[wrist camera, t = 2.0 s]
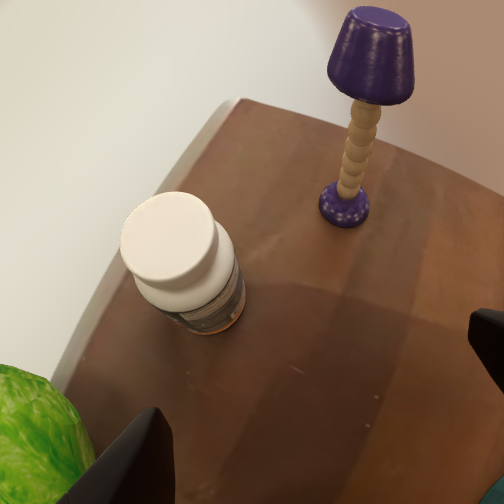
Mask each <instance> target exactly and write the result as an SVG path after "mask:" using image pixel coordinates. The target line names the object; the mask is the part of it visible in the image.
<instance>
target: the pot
mask: <svg viewBox="0 0 504 504" xmlns="http://www.w3.org/2000/svg"><path fill="white" fill-rule="evenodd" d="M479 504H504V476H503V477H501V478H500V479H499V480H498V481H497V482H496V483H495V484H494V485H493V486H492V487H491V489H490V490H489V491H488V492H487V493H486V494H485V496H484V497H483V498H482V500H481V501H480V502H479Z"/></svg>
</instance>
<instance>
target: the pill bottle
mask: <svg viewBox="0 0 504 504" xmlns="http://www.w3.org/2000/svg"><path fill="white" fill-rule="evenodd" d="M120 252H121V256H122V259H123V261H124V263H125V265H126V266H127V268H128V269H129V270H130V271H131V272H132V273H133V274H134V279H135V282H136V285H137V287H138V289H139V291H140V293H141V294H142V296H143V297H144V298H145V299H146V300H147V301H148V302H149V303H150V304H152V305H153V306H154V307H156V308H157V309H158V310H160V311H161V312H162V313H163V314H165V315H166V316H168V317H169V318H170V319H172V320H173V321H174V322H176V323H177V324H179V325H180V326H181V327H183V328H184V329H186V330H188V331H190V332H193V333H196V334H203V335H206V334H214V333H218V332H220V331H223V330H225V329H226V328H228V327H229V326H230V325H232V324H233V323H234V322H235V321H236V320H237V318H238V317H239V316H240V314H241V312H242V310H243V307H244V303H245V297H246V292H245V285H244V281H243V277H242V274H241V271H240V268H239V265H238V261H237V257H236V254H235V250H234V247H233V245H232V242H231V240H230V238H229V236H228V234H227V232H226V231H225V230H224V228H223V227H222V226H221V225H220V224H219V223H218V222H216V221H215V220H214V219H213V216H212V214H211V212H210V210H209V209H208V207H207V206H206V205H205V203H203V202H202V201H201V200H200V199H198V198H197V197H195V196H193V195H190V194H187V193H183V192H166V193H162V194H159V195H156V196H153V197H151V198H149V199H147V200H146V201H145V202H143V203H142V204H140V205H139V206H138V207H137V208H136V209H135V210H134V211H133V212H132V213H131V214H130V216H129V217H128V219H127V220H126V222H125V224H124V226H123V229H122V232H121V236H120Z"/></svg>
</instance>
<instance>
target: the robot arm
mask: <svg viewBox="0 0 504 504" xmlns="http://www.w3.org/2000/svg"><path fill="white" fill-rule="evenodd" d="M468 341H469V343H470V345H471V346H472V348H473V349H474V351H475V352H476V354H477V356H478V357H479V359H480V360H481V362H482V363H483V365H484V367H485V368H486V370H487V371H488V373H489V374H490V376H491V378H492V379H493V380H494V382H495V383H496V384H497V386H498V387H499V388H500V390H501V391H502V392H503V394H504V312H502V311H497V310H491V309H486V308H480V309H478V310H476V311H474V312H473V313H472V314H471V316H470V321H469V329H468ZM55 504H175V468H174V454H173V437H172V430H171V428H170V426H169V424H168V422H167V421H166V419H165V417H164V415H163V414H162V412H161V410H160V409H159V408H157V407H152V408H145V409H143V410H142V411H141V412H140V413H139V414H138V415H137V416H136V417H135V418H134V419H133V420H132V422H131V423H130V424H129V425H128V426H127V427H126V428H125V429H124V430H123V431H122V433H121V434H120V435H119V436H118V437H117V438H116V439H115V440H114V441H113V442H112V443H111V445H110V446H109V447H108V448H107V449H106V450H105V451H104V452H103V453H102V454H101V455H100V456H99V458H98V459H97V460H96V461H95V462H94V463H93V464H92V465H91V466H90V467H89V468H88V469H87V470H86V472H85V473H84V474H83V475H82V476H81V477H80V478H79V479H78V480H77V481H76V482H75V483H74V484H73V485H72V486H71V488H70V489H69V490H68V491H67V493H65V494H64V495H63V496H62V497H61V498H60V499H59V500H58V501H57V502H56V503H55Z"/></svg>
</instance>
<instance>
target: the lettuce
mask: <svg viewBox="0 0 504 504" xmlns="http://www.w3.org/2000/svg"><path fill="white" fill-rule="evenodd" d="M95 461H96V457H95V450H94V445H93V443H92V441H91V439H90V437H89V435H88V433H87V431H86V428H85V426H84V424H83V422H82V420H81V417H80V415H79V413H78V411H77V409H76V408H75V407H74V406H73V405H72V404H71V402H70V401H69V400H68V399H67V398H66V397H65V396H63V395H62V394H61V393H60V392H59V391H58V390H57V389H56V388H55V387H54V386H53V385H52V384H51V383H50V382H49V381H48V380H47V379H46V378H43V377H41V376H37V375H35V374H32V373H29V372H26V371H24V370H21V369H18V368H16V367H13V366H8V365H4V364H0V504H55V503H56V502H57V501H58V500H59V499H60V498H61V497H62V496H63V495H64V494H65V493H67V491H68V490H69V489H70V488H71V486H72V485H73V484H74V483H75V482H76V481H77V480H78V479H79V478H80V477H81V476H82V475H83V474H84V473H85V472H86V470H87V469H88V468H89V467H90V466H91V465H92V464H93V463H94V462H95Z"/></svg>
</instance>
